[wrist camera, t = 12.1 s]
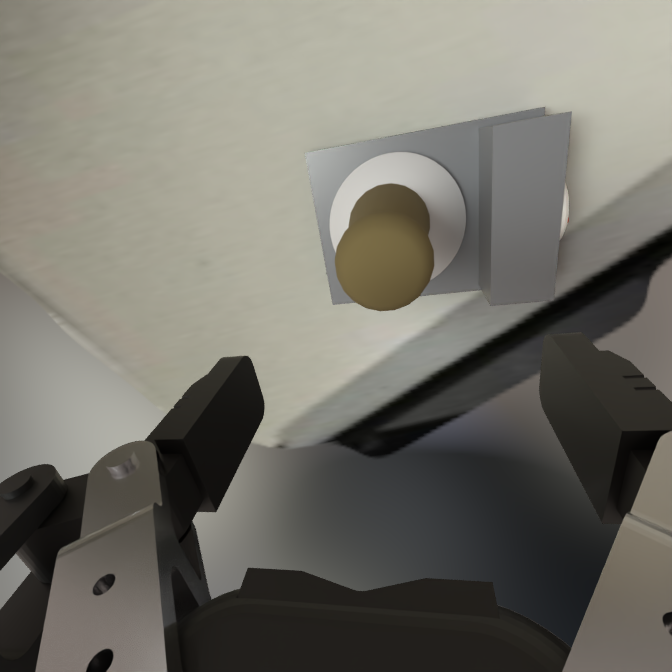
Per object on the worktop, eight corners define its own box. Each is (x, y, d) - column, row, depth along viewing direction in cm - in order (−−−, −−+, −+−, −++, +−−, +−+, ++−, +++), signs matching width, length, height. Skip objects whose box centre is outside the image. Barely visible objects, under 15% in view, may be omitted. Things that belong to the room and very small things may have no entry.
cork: (437, 254, 28) (456, 313, 19) (360, 274, 30) (342, 338, 20) (420, 171, 26) (432, 190, 16) (338, 197, 28) (304, 229, 18)
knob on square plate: (541, 107, 26) (584, 98, 20) (531, 274, 31) (562, 306, 25) (311, 151, 29) (288, 154, 23) (336, 294, 35) (323, 326, 29)
